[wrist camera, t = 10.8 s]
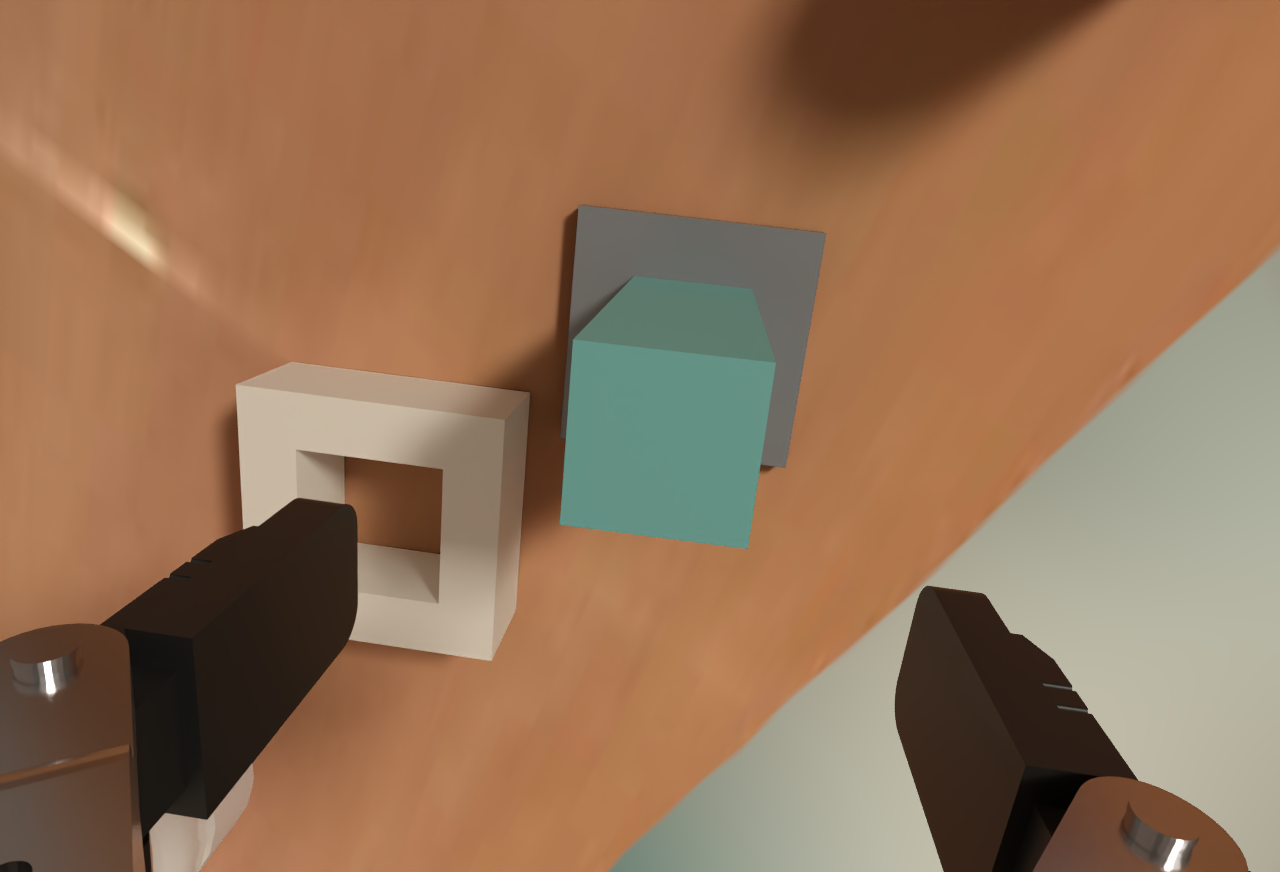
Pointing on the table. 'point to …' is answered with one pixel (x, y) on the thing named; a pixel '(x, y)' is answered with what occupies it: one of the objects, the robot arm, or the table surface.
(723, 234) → the coaster
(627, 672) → the table surface
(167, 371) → the table surface
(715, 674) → the table surface
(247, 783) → the honey pot
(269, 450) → the pocket block
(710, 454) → the block
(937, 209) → the table surface
